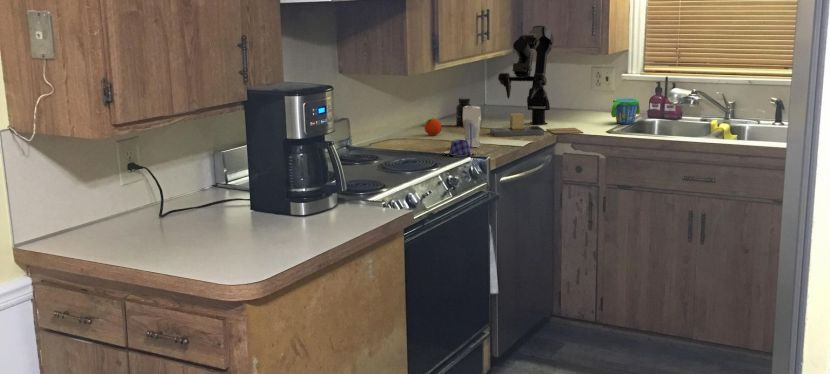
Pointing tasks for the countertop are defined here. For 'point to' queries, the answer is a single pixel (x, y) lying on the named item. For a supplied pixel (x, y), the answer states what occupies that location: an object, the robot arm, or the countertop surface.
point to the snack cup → (625, 110)
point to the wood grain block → (516, 121)
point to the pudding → (459, 147)
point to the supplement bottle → (461, 110)
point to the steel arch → (517, 131)
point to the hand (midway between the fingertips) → (519, 98)
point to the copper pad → (564, 131)
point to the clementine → (432, 126)
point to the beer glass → (472, 124)
